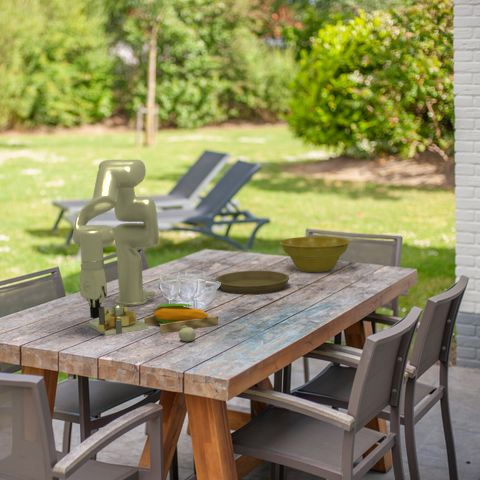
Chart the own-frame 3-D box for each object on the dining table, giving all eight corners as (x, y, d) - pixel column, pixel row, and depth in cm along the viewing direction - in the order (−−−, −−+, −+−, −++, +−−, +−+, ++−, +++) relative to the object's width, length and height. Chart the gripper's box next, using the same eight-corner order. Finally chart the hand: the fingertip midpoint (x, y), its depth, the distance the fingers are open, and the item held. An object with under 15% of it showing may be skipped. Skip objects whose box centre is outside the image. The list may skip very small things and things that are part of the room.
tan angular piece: (110, 317, 348) (109, 295, 347) (141, 319, 344) (140, 297, 342) (85, 329, 331) (83, 306, 330) (117, 331, 327) (116, 308, 326)
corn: (157, 299, 346) (210, 301, 341) (158, 319, 347) (211, 321, 343) (150, 305, 339) (205, 307, 334) (151, 326, 340) (206, 328, 336)
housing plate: (130, 320, 351) (129, 298, 350) (148, 329, 337) (148, 306, 335) (88, 326, 343) (87, 304, 342) (105, 335, 329) (104, 312, 328)
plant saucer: (249, 299, 383) (249, 287, 382) (200, 288, 406) (200, 278, 405) (304, 287, 403) (304, 276, 402) (255, 277, 426) (254, 267, 425)
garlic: (175, 341, 319) (174, 326, 318) (184, 338, 323) (184, 322, 322) (190, 343, 316) (189, 328, 315) (199, 340, 320) (198, 324, 319)
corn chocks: (199, 317, 353) (199, 309, 352) (218, 324, 340) (218, 316, 340) (144, 325, 342) (144, 317, 342) (161, 333, 330) (161, 325, 329)
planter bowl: (304, 261, 462) (303, 234, 460) (363, 267, 443) (363, 238, 441) (266, 272, 436) (265, 243, 434) (327, 279, 418) (327, 248, 416)
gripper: (71, 264, 332) (74, 316, 335) (96, 269, 321) (99, 323, 324) (88, 261, 337) (91, 312, 340) (114, 266, 326) (117, 318, 329)
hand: (95, 317), depth 332 cm, fingers closed
